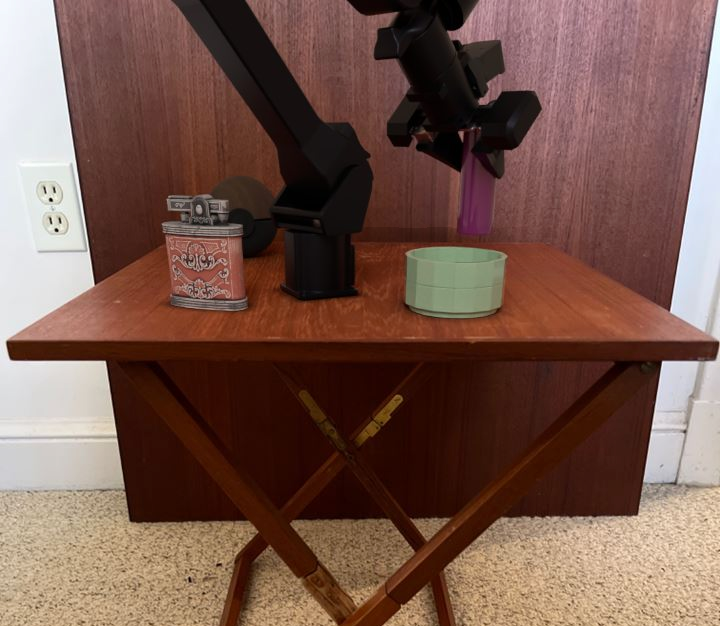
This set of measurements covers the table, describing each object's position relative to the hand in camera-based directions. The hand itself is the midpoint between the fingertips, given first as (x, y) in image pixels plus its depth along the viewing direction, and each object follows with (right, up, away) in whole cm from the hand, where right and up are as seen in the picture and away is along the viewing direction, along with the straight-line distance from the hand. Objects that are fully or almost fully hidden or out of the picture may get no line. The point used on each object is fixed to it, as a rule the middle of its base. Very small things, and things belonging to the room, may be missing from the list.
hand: (486, 175), depth 86 cm
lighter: (-30, -21, -18) cm, 40 cm away
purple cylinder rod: (-1, -6, +2) cm, 7 cm away
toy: (-31, -8, +8) cm, 33 cm away
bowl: (-7, -21, -18) cm, 28 cm away
